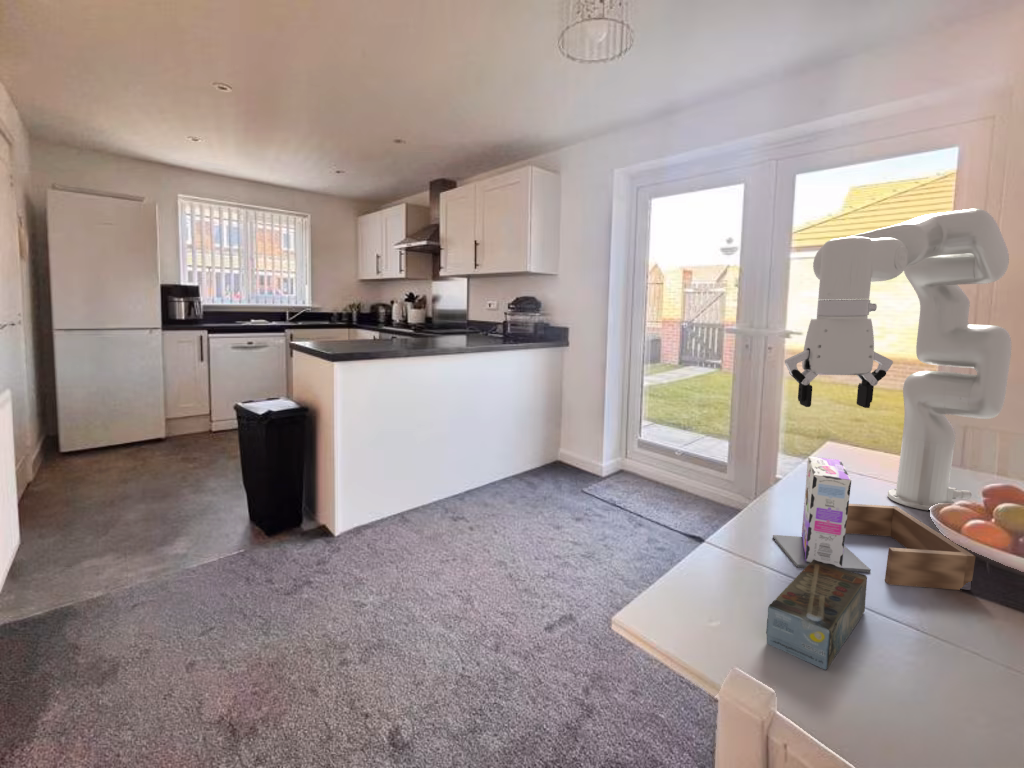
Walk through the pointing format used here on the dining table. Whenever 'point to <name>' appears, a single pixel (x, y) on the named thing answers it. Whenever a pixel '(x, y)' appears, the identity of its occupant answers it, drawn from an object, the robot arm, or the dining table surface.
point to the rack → (913, 548)
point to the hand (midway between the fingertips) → (833, 406)
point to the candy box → (825, 510)
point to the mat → (797, 556)
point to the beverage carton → (817, 613)
